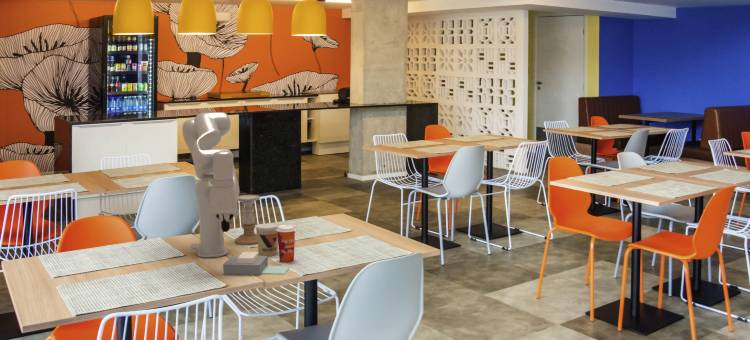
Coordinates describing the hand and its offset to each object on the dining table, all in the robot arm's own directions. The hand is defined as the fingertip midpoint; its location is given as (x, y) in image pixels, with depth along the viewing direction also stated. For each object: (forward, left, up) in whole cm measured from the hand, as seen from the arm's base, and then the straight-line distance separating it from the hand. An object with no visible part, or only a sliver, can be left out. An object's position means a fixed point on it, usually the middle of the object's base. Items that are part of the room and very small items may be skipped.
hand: (225, 231), depth 293 cm
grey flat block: (+7, +1, -15) cm, 17 cm away
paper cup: (+20, +15, -16) cm, 30 cm away
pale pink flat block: (+8, +1, -11) cm, 14 cm away
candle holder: (-3, +45, -16) cm, 48 cm away
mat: (+19, +1, -15) cm, 24 cm away
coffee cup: (+10, +25, -16) cm, 31 cm away
